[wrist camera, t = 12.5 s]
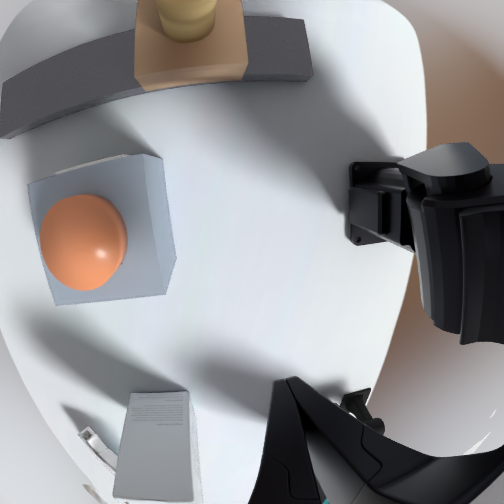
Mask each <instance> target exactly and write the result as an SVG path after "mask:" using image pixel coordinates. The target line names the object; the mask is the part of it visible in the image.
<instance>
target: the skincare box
mask: <svg viewBox="0 0 504 504" xmlns="http://www.w3.org/2000/svg"><path fill="white" fill-rule="evenodd" d="M113 497H114V498H115V499H116V500H117V501H118V502H119V503H121V504H204V499H203V492H202V484H201V473H200V462H199V449H198V435H197V418H196V415H195V412H194V408H193V405H192V401H191V397H190V393H189V392H188V391H183V392H164V393H131V394H130V399H129V403H128V408H127V412H126V417H125V422H124V427H123V432H122V437H121V442H120V448H119V453H118V459H117V466H116V473H115V481H114V488H113Z"/></svg>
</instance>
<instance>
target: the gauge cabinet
mask: <svg viewBox="0 0 504 504" xmlns="http://www.w3.org/2000/svg"><path fill="white" fill-rule="evenodd" d="M28 193H29V200H30V207H31V213H32V219H33V224H34V229H35V234H36V239H37V243H38V247H39V251H40V255H41V259H42V263H43V267H44V270H45V274H46V277H47V281H48V284H49V287H50V290H51V293H52V296H53V299H54V302H55V305H56V306H57V305H69V304H80V303H91V302H101V301H111V300H121V299H130V298H139V297H148V296H157V295H165V294H166V291H167V288H168V285H169V281H170V278H171V275H172V271H173V268H174V265H175V262H176V259H177V258H176V252H175V246H174V240H173V234H172V228H171V221H170V215H169V208H168V200H167V193H166V184H165V176H164V167H163V159H161V158H157V157H154V156H150V155H147V154H143V153H142V154H137V155H132V156H131V155H126V154H121V155H117V156H112V157H108V158H104V159H100V160H96V161H92V162H88V163H84V164H81V165H77V166H74V167H70V168H67V169H63V170H60V171H57V172H55V175H54V176H51V177H48V178H45V179H42V180H39V181H36V182H33V183H30V184H28ZM80 194H96V195H99V196H102V197H104V198H106V199H107V200H108V201H110V202H111V203H112V204H113V205H114V206H115V207H116V208H117V209H118V211H119V212H120V214H121V216H122V218H123V220H124V222H125V225H126V229H127V235H128V245H127V251H126V255H125V257H124V260H123V262H122V263H121V265H120V266H119V268H118V269H117V270H116V271H115V272H114V274H113V275H112V276H111V277H110V279H109V280H108V281H107V282H106V283H104V284H103V285H102V286H100V287H98V288H96V289H93V290H88V291H81V290H75V289H72V288H70V287H68V286H66V285H64V284H63V283H61V282H60V281H59V280H58V279H56V278H55V277H54V275H53V274H52V273H51V272H50V270H49V269H48V267H47V265H46V263H45V261H44V259H43V256H42V252H41V247H40V230H41V226H42V222H43V220H44V217H45V215H46V214H47V212H48V211H49V209H50V208H51V207H52V206H53V205H54V204H55V203H57V202H58V201H60V200H62V199H64V198H67V197H71V196H76V195H80Z"/></svg>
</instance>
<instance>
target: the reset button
mask: <svg viewBox="0 0 504 504" xmlns="http://www.w3.org/2000/svg"><path fill="white" fill-rule="evenodd" d="M127 245H128V235H127V229H126V225H125V222H124V220H123V218H122V216H121V214H120V212H119V211H118V209H117V208H116V207H115V206H114V205H113V204H112V203H111V202H110V201H108V200H107V199H106V198H104V197H102V196H99V195H96V194H80V195H76V196H71V197H67V198H64V199H62V200H60V201H58V202H57V203H55V204H54V205H53V206H52V207H51V208H50V209H49V211H48V212H47V214H46V215H45V217H44V220H43V222H42V226H41V230H40V247H41V252H42V256H43V259H44V261H45V263H46V265H47V267H48V269H49V270H50V272H51V273H52V274H53V275H54V277H55V278H56V279H58V280H59V281H60V282H61V283H63V284H64V285H66V286H68V287H70V288H72V289H75V290H81V291H88V290H93V289H96V288H98V287H100V286H102V285H103V284H104V283H106V282H107V281H108V280H109V279H110V277H111V276H112V275H113V274H114V272H115V271H116V270H117V269H118V268H119V266H120V265H121V263H122V262H123V260H124V257H125V255H126V251H127Z"/></svg>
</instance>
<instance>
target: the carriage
mask: <svg viewBox="0 0 504 504" xmlns="http://www.w3.org/2000/svg"><path fill="white" fill-rule="evenodd" d="M247 65H248V54H247V45H246V36H245V27H244V18H243V10H242V1H241V0H138V3H137V14H136V29H135V54H134V77H135V78H136V80H137V81H138V82H139V84H140V85H141V86H142V88H143V89H144V90H145V92H146V91H151V90H157V89H162V88H168V87H174V86H181V85H189V84H197V83H206V82H217V81H230V80H241V79H242V77H243V74H244V72H245V70H246V67H247Z"/></svg>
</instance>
